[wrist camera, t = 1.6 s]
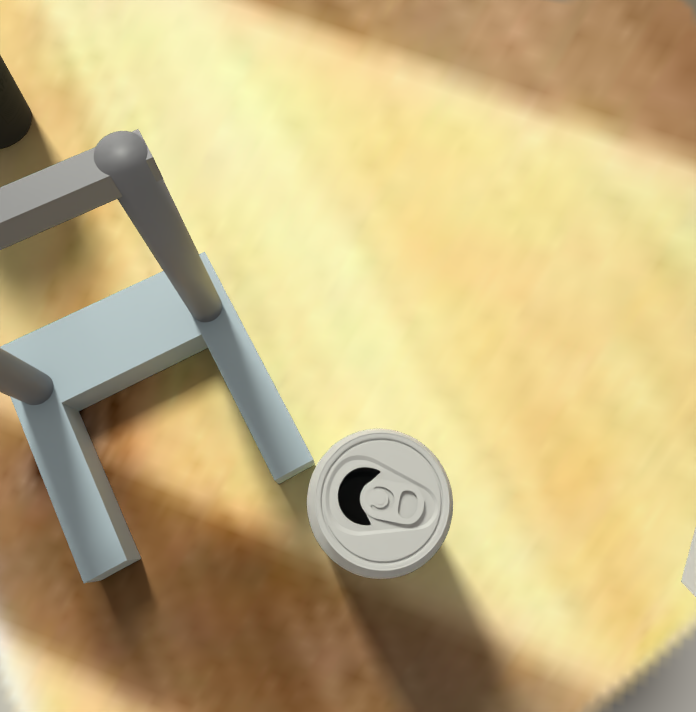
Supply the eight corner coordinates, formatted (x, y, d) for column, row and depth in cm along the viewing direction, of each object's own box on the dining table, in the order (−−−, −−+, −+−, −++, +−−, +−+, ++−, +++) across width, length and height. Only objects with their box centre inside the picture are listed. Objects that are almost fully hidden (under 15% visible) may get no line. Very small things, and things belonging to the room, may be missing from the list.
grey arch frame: (314, 464, 37) (296, 398, 20) (100, 580, 35) (-128, 619, 18) (212, 268, 41) (122, 70, 24) (13, 362, 39) (-246, 218, 21)
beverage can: (326, 449, 37) (322, 409, 26) (428, 470, 37) (469, 439, 26) (304, 555, 36) (289, 562, 24) (410, 578, 35) (446, 596, 24)
